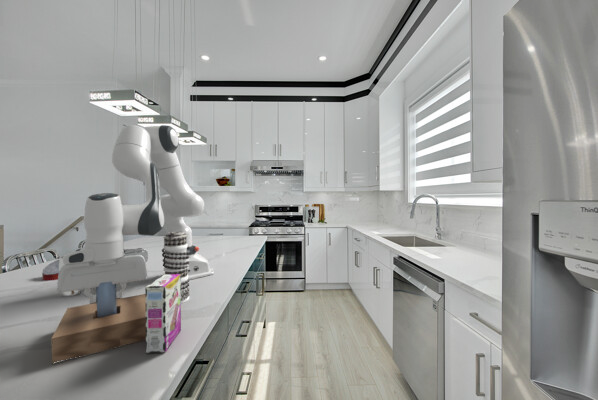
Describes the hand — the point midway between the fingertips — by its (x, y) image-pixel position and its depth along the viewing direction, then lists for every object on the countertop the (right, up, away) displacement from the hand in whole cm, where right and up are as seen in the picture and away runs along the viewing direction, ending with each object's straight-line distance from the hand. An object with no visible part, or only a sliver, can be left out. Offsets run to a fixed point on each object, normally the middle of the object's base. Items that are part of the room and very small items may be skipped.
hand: (106, 300), depth 75 cm
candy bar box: (+19, -9, -4) cm, 21 cm away
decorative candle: (+9, -9, +24) cm, 27 cm away
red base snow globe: (-63, -9, +54) cm, 83 cm away
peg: (0, -6, 0) cm, 6 cm away
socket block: (0, -9, 0) cm, 9 cm away
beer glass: (-36, -9, +31) cm, 49 cm away
